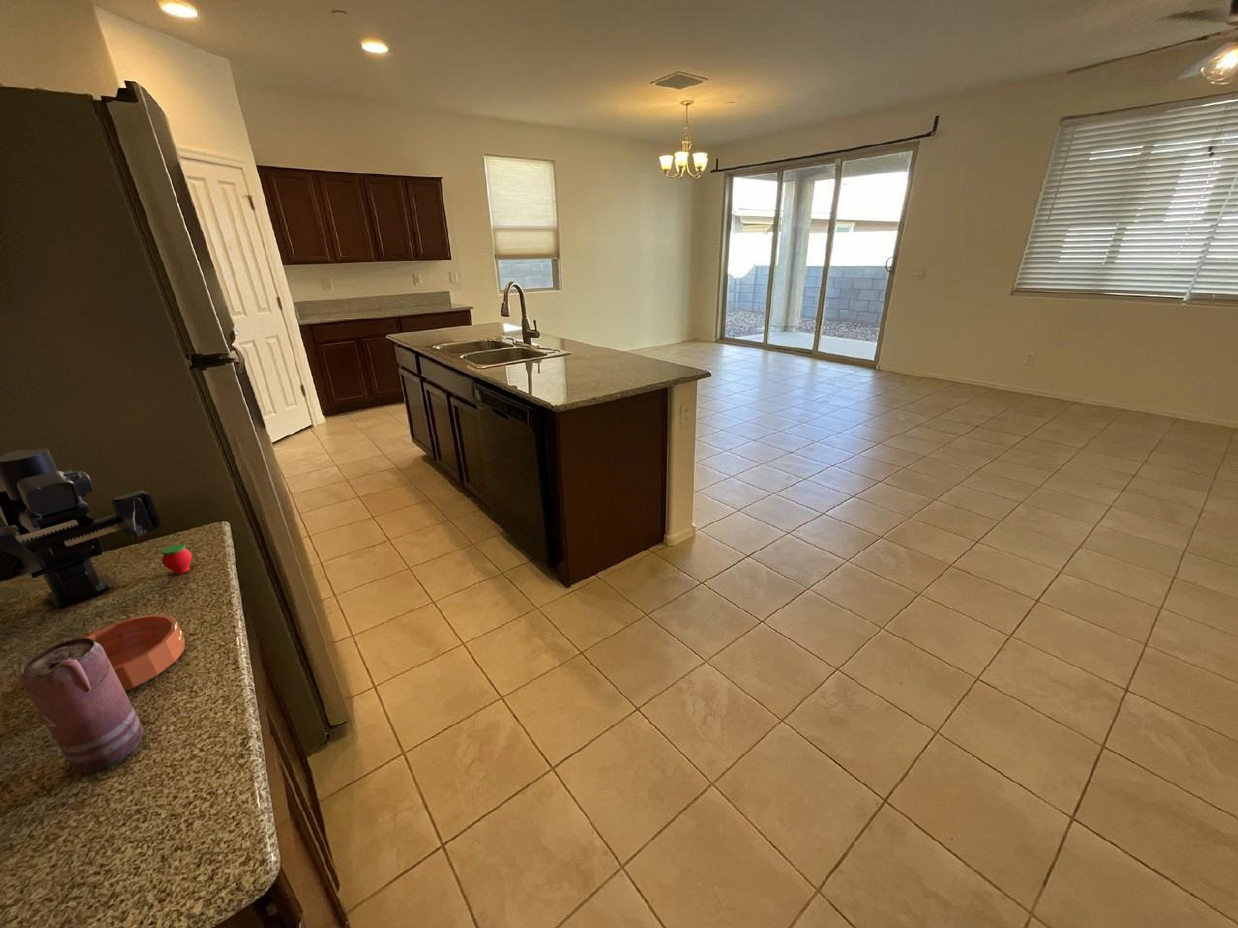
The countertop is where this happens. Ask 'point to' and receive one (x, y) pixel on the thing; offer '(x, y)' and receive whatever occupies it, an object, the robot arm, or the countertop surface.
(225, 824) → the countertop surface
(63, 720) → the can
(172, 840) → the countertop surface
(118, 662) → the bowl
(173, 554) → the strawberry
